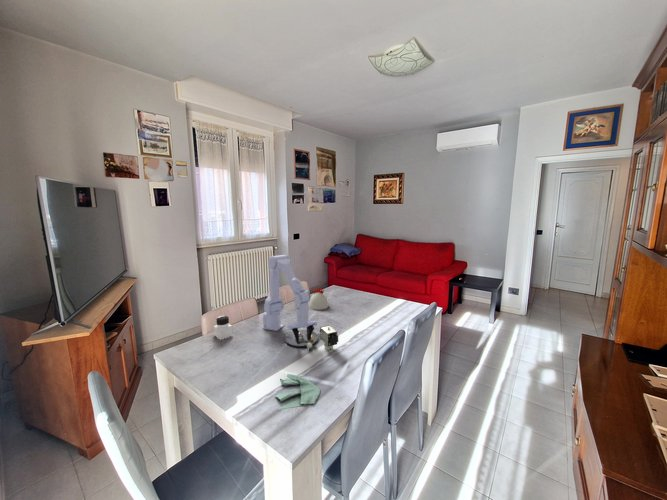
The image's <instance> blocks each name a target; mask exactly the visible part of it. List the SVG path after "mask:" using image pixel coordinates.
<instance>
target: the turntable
mask: <svg viewBox="0 0 667 500" xmlns="http://www.w3.org/2000/svg"><path fill="white" fill-rule="evenodd" d="M298 331H299V332H303V333H304V341H302V342H299V343H297V342H296V341H295V335H294V333H293V331H291V332H289V333H287V335H286V336H285V343H287V344H289V345H291V346H295V347H305V346H306V344H307V343H308V342H310V343H311V344H314V343H316V342H317V341H318V334H319V333H317V332H315V331H313V332H312V334H311V337H310V341H308V340H307V329H300V330H298Z"/></svg>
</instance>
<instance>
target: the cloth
mask: <svg viewBox="0 0 667 500" xmlns="http://www.w3.org/2000/svg"><path fill="white" fill-rule="evenodd" d="M286 377H287V378H284V379H283V378H280V379H279V381H280V382H281V383H280V384H281V387H284V386H285V387H286V386H287V387H292V386H299V389H300V390H297V391H295V390H294V391H288V392H283V393H280V394H277V395H276V396H275V398H278V400H279V402H280V405H279V407H278V408H277V410H281V409H282V410H283V409H291V408H292V409H293V408H298V407H303V406H306V404H307V405H311V404H312V405H315V404H316V401H317V400H318V398H319V396H320V395H321V388H320V387H318V386H317V385H315V384H314V383H313V382H312V381H310V380H308V379H307V378H304V377H303V376H298V375H296V374H292V373H287V374H286ZM287 399H288V400H287ZM285 400H286V401H285Z"/></svg>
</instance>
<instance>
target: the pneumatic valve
mask: <svg viewBox="0 0 667 500" xmlns="http://www.w3.org/2000/svg"><path fill="white" fill-rule="evenodd" d="M319 334H320V338H321V340H320V341H322V342H323V345H324V346H323V347H324V348H323V350H324V351H326V352H327V353H328V352H329V353H331V352H333V351H334V346H335V345H336V346H337V345H338V343H339V335H338V331H337V330H336V328H334V327H332V326H330V325H324V326H320V329H319Z"/></svg>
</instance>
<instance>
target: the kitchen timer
mask: <svg viewBox="0 0 667 500" xmlns="http://www.w3.org/2000/svg"><path fill="white" fill-rule="evenodd" d="M324 291H325V289H323V288H320V287H319V288H318V287H316V289H314V290H312V293H313V294H312V295H311V298H310V301H308V309H311V310H315V311H323V310H326V309H328V307H329V304H328V303H329V302H328V299H327V297H326V296H325V294H324Z"/></svg>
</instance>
